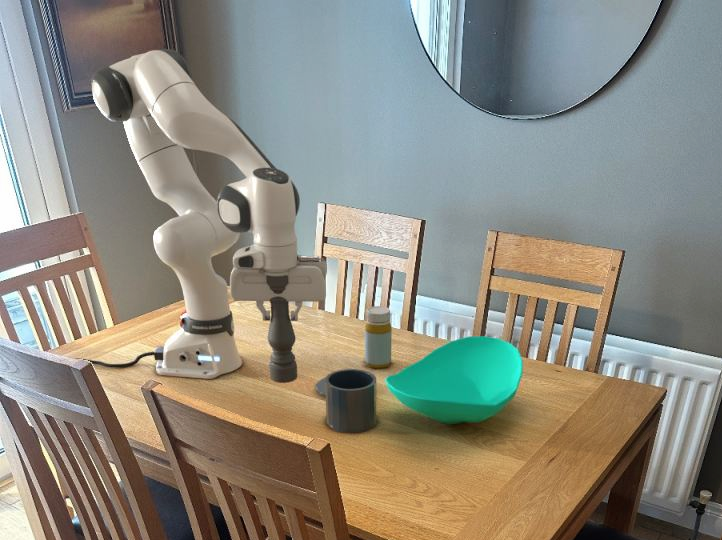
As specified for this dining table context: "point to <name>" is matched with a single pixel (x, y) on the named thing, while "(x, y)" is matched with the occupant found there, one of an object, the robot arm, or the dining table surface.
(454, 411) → the table top decor
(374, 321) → the bottle
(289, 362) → the candle holder
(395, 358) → the dining table surface
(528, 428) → the dining table surface
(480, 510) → the dining table surface
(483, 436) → the dining table surface
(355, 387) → the crock
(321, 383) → the lid
